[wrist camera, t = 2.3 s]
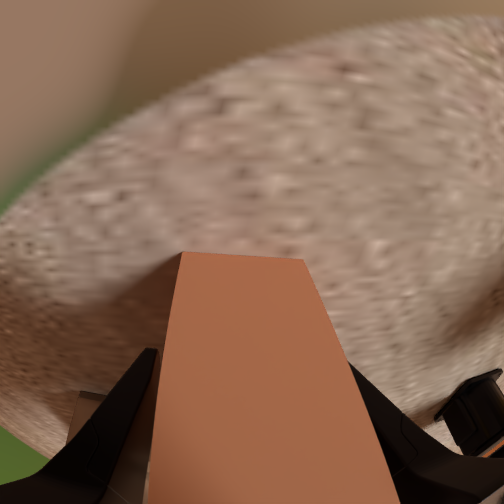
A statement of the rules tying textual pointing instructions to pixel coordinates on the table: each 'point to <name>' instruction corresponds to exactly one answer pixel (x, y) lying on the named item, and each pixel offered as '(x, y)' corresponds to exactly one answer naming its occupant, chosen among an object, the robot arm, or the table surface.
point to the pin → (259, 394)
